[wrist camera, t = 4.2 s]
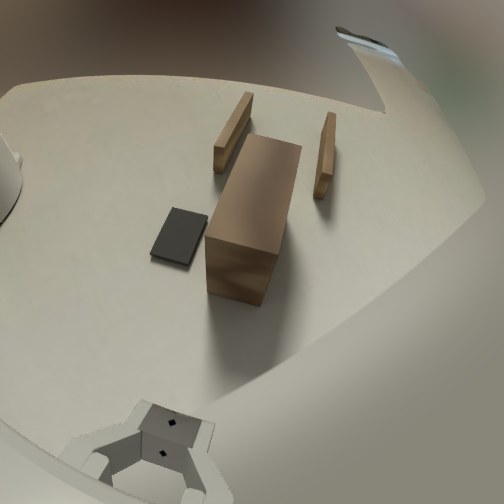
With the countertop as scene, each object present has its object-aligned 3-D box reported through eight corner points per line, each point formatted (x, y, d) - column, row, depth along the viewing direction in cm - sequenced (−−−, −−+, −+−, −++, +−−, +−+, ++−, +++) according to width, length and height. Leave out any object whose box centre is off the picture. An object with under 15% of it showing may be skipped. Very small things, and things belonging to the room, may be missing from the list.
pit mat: (150, 255, 29) (149, 253, 29) (172, 209, 32) (172, 207, 32) (188, 265, 29) (188, 263, 28) (207, 218, 32) (207, 215, 32)
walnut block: (207, 292, 28) (204, 235, 20) (240, 197, 34) (248, 133, 27) (260, 306, 28) (278, 254, 20) (283, 208, 34) (301, 146, 26)
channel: (213, 171, 36) (213, 145, 32) (242, 113, 43) (245, 91, 40) (322, 199, 35) (332, 175, 32) (329, 134, 43) (336, 113, 40)
